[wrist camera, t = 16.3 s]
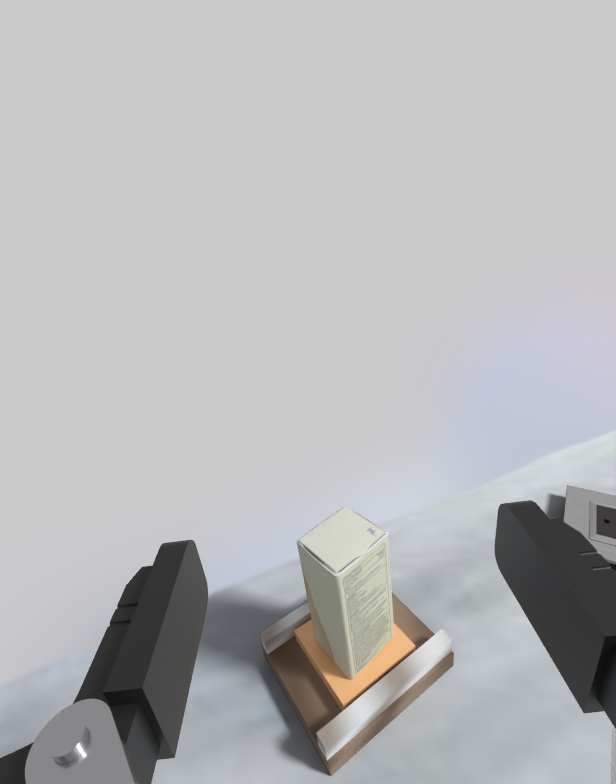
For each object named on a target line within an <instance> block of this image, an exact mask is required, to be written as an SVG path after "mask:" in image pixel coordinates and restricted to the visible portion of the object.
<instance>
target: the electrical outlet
mask: <svg viewBox="0 0 616 784" xmlns="http://www.w3.org/2000/svg"><path fill="white" fill-rule="evenodd" d="M563 522H565V523H566V524H568V525H570V526H571V527H573V528H574V529H576V530H577V531H579V532H581V533H582V534H583V536H584V537H585V538H586V539H587V540H588V541H589V542H590V543H591V544H592V545H593V546H594V548H595V549H596V550H597V553H598V554H601V555H602V556H603V557H604V558H605V560H606V561H607V562H608V563H609V564H612V565H616V496H614V495H610V494H605V493H600V492H596V491H591V490H587V489H582V488H578V487H573V486H569V485H567V491H566V501H565V511H564V521H563Z"/></svg>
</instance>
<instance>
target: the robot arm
mask: <svg viewBox="0 0 616 784" xmlns="http://www.w3.org/2000/svg"><path fill="white" fill-rule="evenodd" d="M495 557H496V561H497V564H498V567H499V569H500V572H501V574H502V575H503V577H504V579H505V580H506V582H507V584H508V585H509V587H510V589H511V591H512V592H513V594H514V596H515V597H516V599H517V601H518V602H519V604H520V606H521V607H522V609H523V611H524V613H525V614H526V616H527V618H528V619H529V621H530V623H531V624H532V626H533V628H534V630H535V631H536V633H537V635H538V636H539V638H540V640H541V641H542V643H543V645H544V646H545V648H546V650H547V652H548V653H549V655H550V657H551V658H552V660H553V662H554V663H555V665H556V667H557V668H558V670H559V672H560V674H561V675H562V677H563V679H564V680H565V682H566V684H567V685H568V687H569V689H570V690H571V692H572V694H573V696H574V697H575V699H576V701H577V702H578V704H579V706H580V707H581V709H582V711H583V712H584V713H591V712H600V711H605V713H606V714H607V716H608V717H609V719H610V721H611V722H612V724H613V725H614V728H613V732H612V761H611V784H616V570H615V569H612V568H611V565H610V564H609V563H608V562H607V561H606V560H605V558H604V557H603V556H602V555H601V554H598V553H597V550H596V549H595V548H594V546H593V545H592V544H591V543H590V542H589V541H588V540H587V539H586V538H585V537H584V536H583V534H582V533H581V532H579V531H577V530H576V529H574V528H573V527H571V526H570V525H568V524H566V523H565V522H563V521H562V520H560V519H552V520H550V519H549V518H548V517H547V515H546V514H545V513H544V512H543V511H542V510H541V508H540V507H539V506H538V505H537V504H536V503H535V502H533V501H522V502H513V503H505V504H501V505H500V506H499V509H498V518H497V528H496V538H495ZM207 602H208V587H207V581H206V577H205V574H204V571H203V568H202V564H201V561H200V558H199V555H198V551H197V548H196V545H195V543H194V541H193V540H186V541H178V542H170V543H164V544H162V545H161V547H160V549H159V551H158V554H157V556H156V559H155V561H154V564H153V566H147V567H142V568H141V569H140V570H139V571H138V572H137V574H136V575H135V576H134V577H133V578H132V579H131V580H130V582H129V583H128V584H127V585H126V588H125V589H124V592H123V594H122V596H121V599H120V601H119V603H118V608H117V609H116V610H115V612H114V614H113V616H112V619H111V621H110V626H109V627H108V628H107V630H106V632H105V635H104V637H103V639H102V641H101V644H100V646H99V648H98V650H97V653H96V655H95V657H94V659H93V662H92V664H91V666H90V668H89V671H88V673H87V675H86V677H85V680H84V682H83V684H82V686H81V689H80V691H79V693H78V695H77V697H76V699H75V701H74V703H73V704H72V705H70V706H68V707H67V708H65V709H63V710H62V711H61V712H59V713H58V714H57V715H56V716H55V717H54V718H53V719H52V720H50V721H49V723H48V724H47V725H46V726H45V727H44V728H43V730H42V731H41V732H40V734H39V735H38V736H37V738H36V740H35V741H34V742H33V743H31V744H30V745H28V746H26V747H24V748H22V749H19V750H17V751H15V752H13V753H11V754H9V755H6V756H4V757H2V758H0V784H151V781H152V777H153V773H154V769H155V765H156V761H157V760H159V759H167V758H175V754H176V749H177V744H178V740H179V735H180V730H181V725H182V721H183V716H184V711H185V707H186V702H187V697H188V693H189V688H190V683H191V679H192V674H193V669H194V665H195V660H196V655H197V651H198V646H199V641H200V637H201V632H202V627H203V622H204V618H205V613H206V608H207Z"/></svg>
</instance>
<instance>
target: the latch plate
mask: <svg viewBox="0 0 616 784" xmlns="http://www.w3.org/2000/svg"><path fill="white" fill-rule="evenodd" d="M294 632H295V637H296V641H297V642H298V644H299V645H300V647H301V649H302V650H303V652H304V653H305V655H306V656H307V658H308V659H309V661H310V662H311V664H312V665H313V667H314V669H315V670H316V672H317V673H318V675H319V676H320V678H321V679H322V681H323V682H324V684H325V685H326V687H327V689H328V690H329V692H330V693H331V695H332V696H333V698H334V699H335V701H336V702H337V704H338V706H339V707H340V709H341V710H342V711H343V710H345V709H346V708H347V707H348V706H349V705H351V704H352V703H353V702H354V701H355V700H357V699H358V698H359V697H360V696H361V695H363V694H364V693H365V692H366V691H367V690H369V689H370V688H371V687H372V686H374V685H375V684H376V683H377V682H378V681H380V680H381V679H382V678H383V677H384V676H386V675H387V674H388V673H389V672H390V671H392V670H393V669H394V668H395V667H396V666H398V665H399V664H400V663H401V662H402V661H404V660H405V659H406V658H407V657H408V656H410V655H411V654H412V653H413V652H414V651H416V648H415V645H414V644H413V642H412V641H411V640H410V639H409V638H408V637H407V636H406V635H405V634H404V633H403V632H402V631H401V630H400V629H399V628H398V627H397V625H396V624H395V623H394V637H393V638H392V639H391V640H390V641H389V642H388V644H387V645H386V646H385V647H384V648H383V649H382V650H381V651H380V652H379V653H378V655H377V656H376V657H375V658H374V659H373V660H372V661H371V662H370V663H369V664H368V665H367V666H366V667H365V668H364V669H363V670H362V671H361V672H360V673H359V674H358V675H357V676H356V677H355V678H354V679H352V680H350V679H349V678H348V677H347V676H346V675H345V674H344V673H343V672H342V671H341V670H340V669H339V668H338V666H337V665H336V664H335V663H334V662H333V661H332V660H331V659H330V657H329V656H328V655H327V654H326V653H325V652H324V650H323V649H322V648H321V647H320V646H319V644H318V643H317V642H316V640H315V635H314V630H313V624H312V619H311V620H309V621H308V622H306V623H305V624H303V625H302V626H300V627H299V628H297V629H296V630H294Z"/></svg>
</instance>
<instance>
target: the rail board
mask: <svg viewBox="0 0 616 784" xmlns="http://www.w3.org/2000/svg"><path fill="white" fill-rule="evenodd" d="M392 605H393V620H394V623H395V624H396V625H397V627H398V628H399V629H400V630H401V631H402V632H403V633H404V634H405V635H406V636H407V637H408V638H409V639H410V640H411V641H412V642H413V644H414V645H415V648H416V651H414V652H413V653H412V654H411V655H410V656H408V657H407V658H406V659H405V660H404V661H402V662H401V663H400V664H399V665H398V666H396V667H395V668H394V669H393V670H392V671H390V672H389V673H388V674H387V675H386V676H384V677H383V678H382V679H381V680H380V681H378V682H377V683H376V684H375V685H374V686H372V687H371V688H370V689H369V690H367V691H366V692H365V693H364V694H363V695H361V696H360V697H359V698H358V699H357V700H355V701H354V702H353V703H352V704H351V705H349V706H348V707H347V708H346V709H345V710H343V711H342V710H341V709H340V707H339V706H338V704H337V702H336V701H335V699H334V698H333V696H332V695H331V693H330V692H329V690H328V689H327V687H326V685H325V684H324V682H323V681H322V679H321V678H320V676H319V675H318V673H317V672H316V670H315V669H314V667H313V665H312V664H311V662H310V661H309V659H308V658H307V656H306V655H305V653H304V652H303V650H302V649H301V647H300V645H299V644H298V642H297V641H296V637H295V632H294V630H296V629H297V628H299V627H300V626H302V625H303V624H305V623H306V622H308V621H309V620H311V614H310V608H309V603H308V602H307V603H305V604H303V605H302V606H300V607H299V608H297V609H296V610H294V611H293V612H291V613H289V614H288V615H286V616H285V617H283V618H282V619H280V620H279V621H277V622H276V623H274V624H272V625H271V626H269V627H268V628H266V629H265V630H263V631H262V632H260V637H261V641H262V647H263V651H264V655H265V657H266V658H267V660H268V662H269V664H270V666H271V667H272V669H273V671H274V673H275V675H276V677H277V678H278V680H279V682H280V684H281V686H282V688H283V689H284V691H285V693H286V695H287V697H288V698H289V700H290V702H291V704H292V706H293V708H294V709H295V711H296V713H297V715H298V717H299V719H300V720H301V722H302V724H303V726H304V728H305V729H306V731H307V733H308V735H309V737H310V739H311V740H312V742H313V744H314V746H315V748H316V749H317V751H318V753H319V755H320V757H321V759H322V760H323V762H324V764H325V766H326V768H327V770H328V771H329V773H330V775H332V774H334V773H335V772H336V771H337V770H338V769H339V768H340V767H341V766H342V765H344V764H345V763H346V762H347V761H348V760H349V759H350V758H351V757H352V756H353V755H355V754H356V753H357V752H358V751H359V750H360V749H361V748H362V747H363V746H364V745H366V744H367V743H368V742H369V741H370V740H371V739H372V738H373V737H374V736H376V735H377V734H378V733H379V732H380V731H381V730H382V729H383V728H384V727H385V726H387V725H388V724H389V723H390V722H391V721H392V720H393V719H394V718H395V717H397V716H398V715H399V714H400V713H401V712H402V711H403V710H404V709H405V708H406V707H408V706H409V705H410V704H411V703H412V702H413V701H414V700H415V699H416V698H417V697H419V696H420V695H421V694H422V693H423V692H424V691H425V690H426V689H427V688H429V687H430V686H431V685H432V684H433V683H434V682H435V681H436V680H437V679H438V678H440V677H441V676H442V675H443V674H444V673H445V672H446V671H447V670H448V669H450V668H451V667H452V666H453V657H454V653H453V652H452V638H451V637H450V636H449V635H448V634H447V633H446V632H445V631H444V630H443V629H441V630H440V631H439V632H437V633H436V634H434V633H433V632H432V631H431V630H430V629H429V628H428V627H427V626H426V625H425V624H423V623H422V622H421V621H420V620H419V619H418V618H417V617H416V616H415V615H414V614H413V613H412V612H411V611H410V610H409V609H408V608H407V607H406V606H405V605H404V604H403V603H402V602H401V601H400V600H399V599H398V598H397V597H396V596H395V595H394V594H393V593H392Z"/></svg>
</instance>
